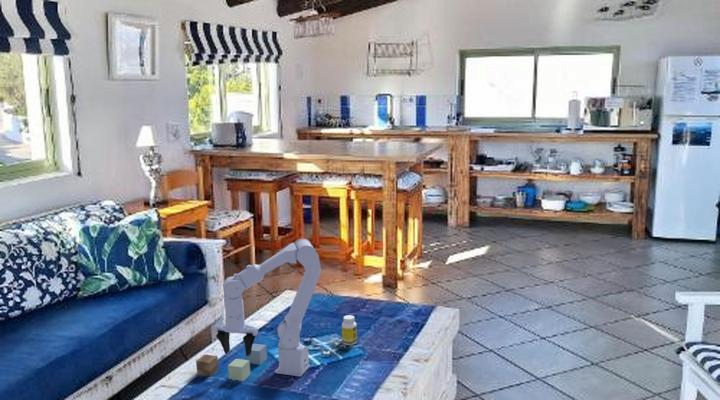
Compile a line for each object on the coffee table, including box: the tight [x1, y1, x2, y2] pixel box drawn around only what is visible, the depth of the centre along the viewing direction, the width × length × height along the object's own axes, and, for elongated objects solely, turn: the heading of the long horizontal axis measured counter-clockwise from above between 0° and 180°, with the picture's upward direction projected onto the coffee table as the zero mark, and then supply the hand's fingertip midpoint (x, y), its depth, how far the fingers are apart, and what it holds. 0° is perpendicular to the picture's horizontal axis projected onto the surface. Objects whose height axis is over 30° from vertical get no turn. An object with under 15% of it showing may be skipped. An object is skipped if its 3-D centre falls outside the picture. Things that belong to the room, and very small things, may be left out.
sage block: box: [227, 358, 251, 382], centre depth 202 cm, size 5×5×5 cm
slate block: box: [246, 343, 268, 366], centre depth 213 cm, size 5×5×5 cm
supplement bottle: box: [341, 314, 358, 346], centre depth 224 cm, size 5×5×10 cm
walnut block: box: [195, 353, 219, 378], centre depth 205 cm, size 5×5×5 cm
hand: (237, 353), depth 200 cm, fingers open, 7 cm apart
